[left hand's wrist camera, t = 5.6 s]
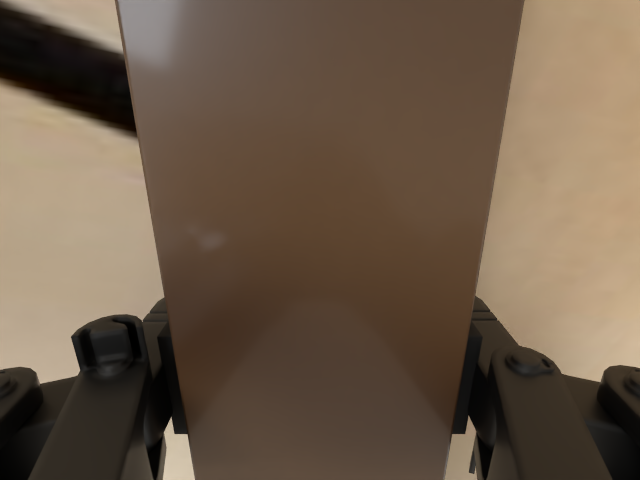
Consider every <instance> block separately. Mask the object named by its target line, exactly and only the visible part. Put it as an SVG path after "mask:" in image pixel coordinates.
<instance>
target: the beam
mask: <svg viewBox="0 0 640 480" xmlns="http://www.w3.org/2000/svg"><path fill="white" fill-rule="evenodd" d="M115 3H116V9H117V15H118V21H119V27H120V33H121V39H122V45H123V51H124V57H125V63H126V69H127V75H128V81H129V87H130V93H131V99H132V105H133V111H134V117H135V123H136V129H137V135H138V141H139V147H140V153H141V159H142V165H143V171H144V177H145V183H146V189H147V195H148V201H149V207H150V213H151V219H152V225H153V231H154V237H155V242H156V248H157V254H158V260H159V266H160V272H161V278H162V284H163V290H164V296H165V302H166V308H167V314H168V320H169V326H170V332H171V338H172V344H173V350H174V356H175V362H176V368H177V374H178V380H179V386H180V392H181V398H182V404H183V410H184V416H185V422H186V428H187V434H188V440H189V446H190V452H191V458H192V464H193V470H194V476H195V480H444V479H445V473H446V467H447V461H448V455H449V449H450V443H451V437H452V431H453V425H454V419H455V413H456V407H457V401H458V395H459V389H460V383H461V377H462V371H463V365H464V359H465V353H466V347H467V341H468V335H469V329H470V323H471V317H472V311H473V305H474V299H475V293H476V287H477V281H478V275H479V269H480V263H481V257H482V251H483V245H484V239H485V233H486V227H487V221H488V215H489V209H490V203H491V197H492V191H493V185H494V179H495V173H496V167H497V161H498V155H499V149H500V143H501V137H502V131H503V125H504V119H505V113H506V107H507V101H508V95H509V89H510V83H511V77H512V71H513V65H514V59H515V53H516V47H517V41H518V35H519V29H520V23H521V17H522V11H523V5H524V0H115Z"/></svg>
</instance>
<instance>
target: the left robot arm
mask: <svg viewBox="0 0 640 480" xmlns="http://www.w3.org/2000/svg"><path fill="white" fill-rule="evenodd" d="M71 338H72V342H73V345H74V349H75V353H76V356H77V360H78V363H79V367H80V372H79V374H78V376H75V377H71V378H67V379H62V380H57V381H52V382H47V383H43V384H40V383H39V380H38V377H37V374H36V372H35V371H33V370H32V369H31V368H24V367H16V368H8V369H3V370H0V480H163V472H164V464H165V456H166V442H165V436H164V431H165V429H166V427H167V424H168V422H169V420H170V418H171V417H172V422H173V428H174V433H175V434H187V428H186V422H185V416H184V410H183V404H182V398H181V392H180V386H179V380H178V374H177V368H176V362H175V356H174V350H173V344H172V338H171V332H170V326H169V320H168V314H167V308H166V302H165V297H164V298H163V299H161V300H160V301H158V302H157V303H156V305H155V306H154V307H153V308H152V309H151V311H150V314H147V316H146V317H145V318H144V319H143V322H142V320H140V319H139V318H138V317H136V316H132V315H127V314H125V315H112V316H107V317H103V318H100V319H97V320H95V321H92V322H89V323H88V324H86V325H84V326H83V327H81V328H79V329H78V330H77V331H76V332H75V333H74V334H73V335H72V336H71ZM468 415H469V417H470V419H471V421H472V423H473V425H474V427H475V429H476V436H475V441H474V446H473V451H472V457H471V462H470V468H469V473H473V474H474V471H475V466H476V471H477V479H478V480H640V368H637V367H630V366H623V365H618V366H610V367H609V368H607V369H606V370H605V371H604V373H603V376H602V379H601V382H596V381H591V380H586V379H581V378H577V377H572V376H568V375H564V374H561V371H560V369H559V368H558V367H557V366H556V364H555V363H554V362H553V361H552V360H550V359H549V358H548V357H546V356H545V355H543V354H541V353H539V352H537V351H535V350H532V349H530V348H526V347H522V346H519V345H518V344H517V343H516V341H515V340H514V339H513V338H512V336H511V335H510V334H509V333H508V332H507V330H506V329H505V328H504V327H503V325H502V324H501V323H500V322H499V321H497V318H496V317H495V316H494V314H493V313H492V312H490V309H489V308H488V307H487V306H486V304H485V303H484V302H483V301H482V300H481V299H479V298H478V297H476V296H475V299H474V305H473V311H472V317H471V323H470V329H469V335H468V341H467V347H466V353H465V359H464V365H463V371H462V377H461V383H460V389H459V395H458V401H457V407H456V413H455V419H454V425H453V431H452V434H465V432H466V426H467V421H468Z"/></svg>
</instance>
